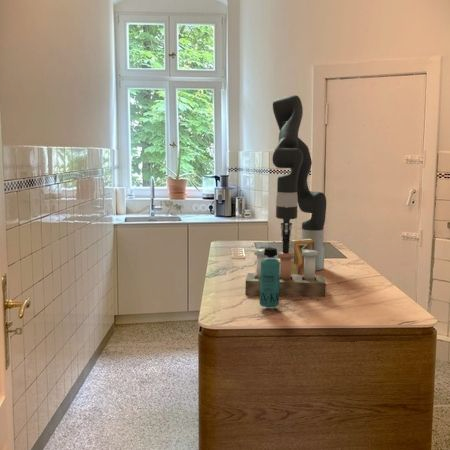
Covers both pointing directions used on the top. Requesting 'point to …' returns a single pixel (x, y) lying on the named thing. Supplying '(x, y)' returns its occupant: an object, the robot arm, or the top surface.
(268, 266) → the beverage bottle
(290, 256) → the brown mushroom peg
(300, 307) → the top surface
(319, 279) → the walnut socket board
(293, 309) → the top surface
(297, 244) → the candy box
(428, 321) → the top surface
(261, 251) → the grey plug
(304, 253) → the grey plug
